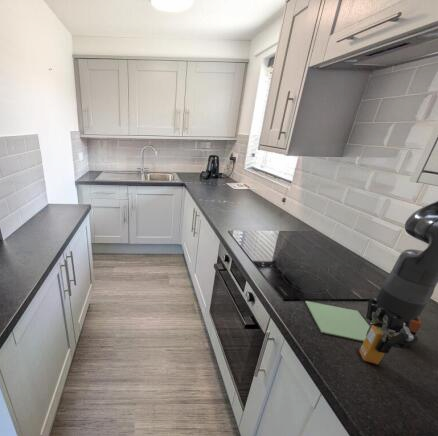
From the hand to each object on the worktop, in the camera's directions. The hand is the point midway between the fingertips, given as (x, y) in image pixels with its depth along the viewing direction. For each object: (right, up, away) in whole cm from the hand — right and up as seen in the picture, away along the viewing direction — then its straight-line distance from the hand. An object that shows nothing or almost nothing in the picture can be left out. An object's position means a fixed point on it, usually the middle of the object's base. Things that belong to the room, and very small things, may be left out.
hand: (375, 344), depth 61 cm
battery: (+15, -3, +9) cm, 18 cm away
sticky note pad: (+2, 0, +14) cm, 14 cm away
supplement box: (0, -5, +2) cm, 5 cm away
